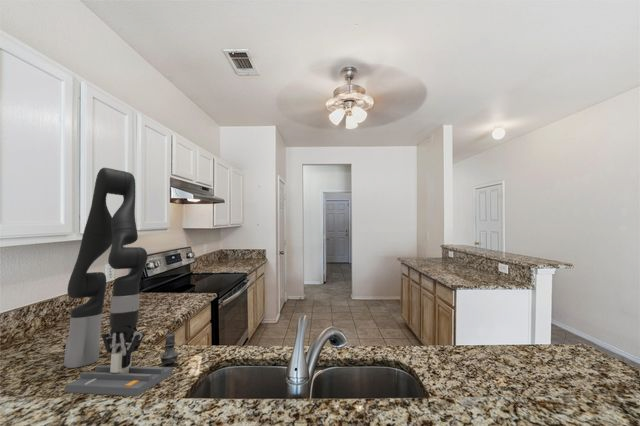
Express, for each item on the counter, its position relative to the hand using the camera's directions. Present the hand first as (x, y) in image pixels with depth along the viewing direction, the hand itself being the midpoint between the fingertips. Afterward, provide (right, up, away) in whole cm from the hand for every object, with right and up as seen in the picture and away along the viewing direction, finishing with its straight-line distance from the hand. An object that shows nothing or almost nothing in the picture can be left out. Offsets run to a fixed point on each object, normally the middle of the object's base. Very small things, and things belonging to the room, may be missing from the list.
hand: (121, 366), depth 85 cm
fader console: (+1, -5, -1) cm, 5 cm away
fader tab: (0, -2, 0) cm, 2 cm away
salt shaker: (+9, -6, +11) cm, 15 cm away
